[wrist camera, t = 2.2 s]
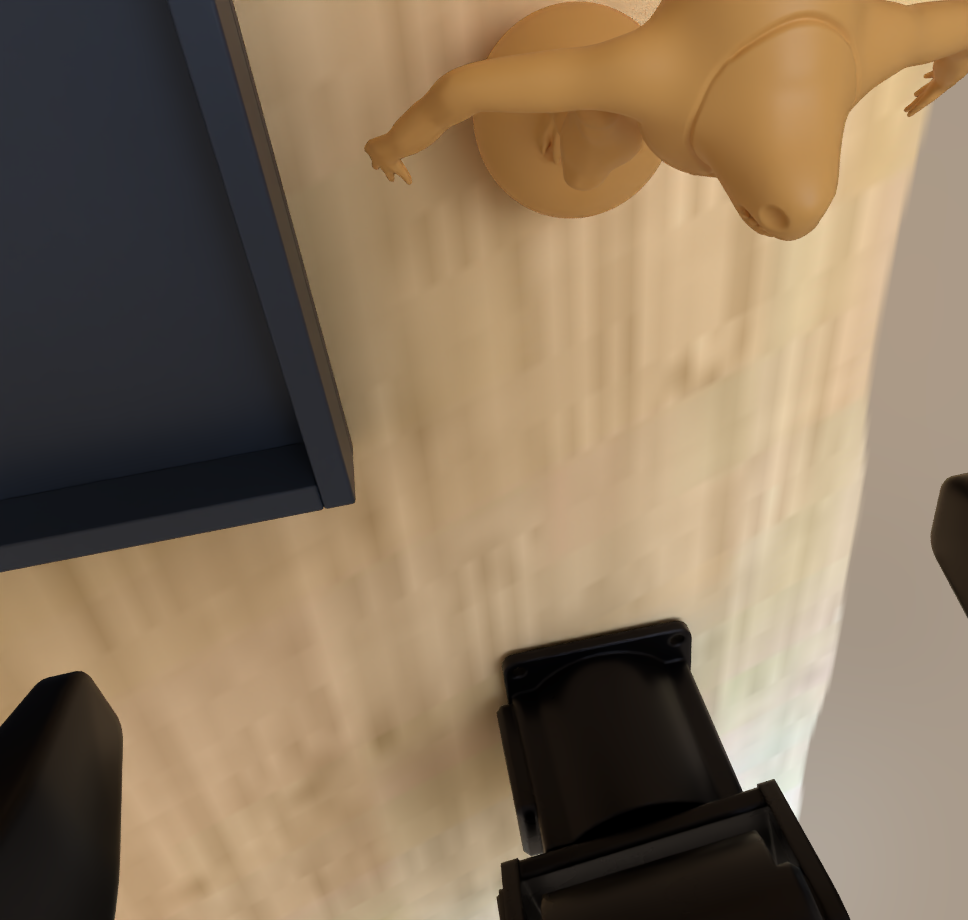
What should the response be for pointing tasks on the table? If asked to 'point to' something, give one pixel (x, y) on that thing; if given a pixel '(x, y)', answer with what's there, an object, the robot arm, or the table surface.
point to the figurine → (682, 100)
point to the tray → (149, 289)
